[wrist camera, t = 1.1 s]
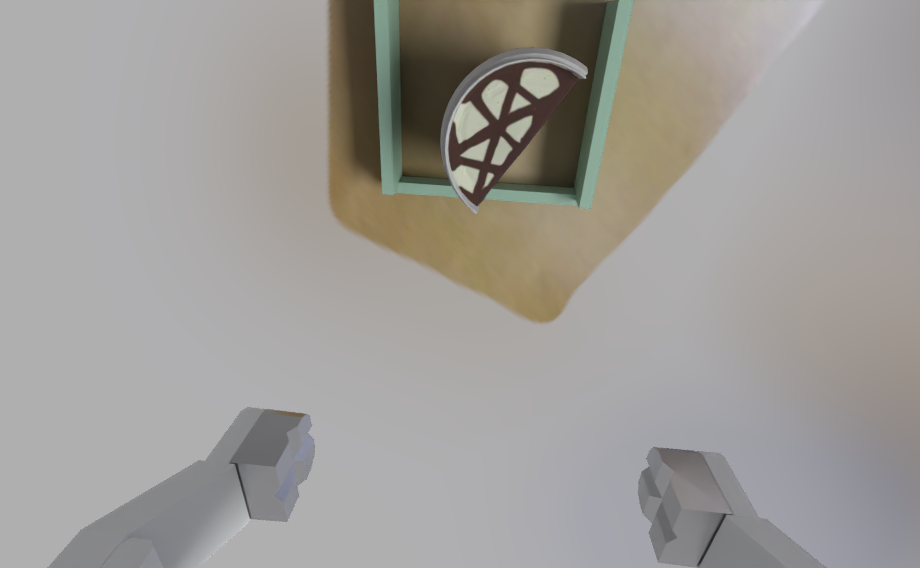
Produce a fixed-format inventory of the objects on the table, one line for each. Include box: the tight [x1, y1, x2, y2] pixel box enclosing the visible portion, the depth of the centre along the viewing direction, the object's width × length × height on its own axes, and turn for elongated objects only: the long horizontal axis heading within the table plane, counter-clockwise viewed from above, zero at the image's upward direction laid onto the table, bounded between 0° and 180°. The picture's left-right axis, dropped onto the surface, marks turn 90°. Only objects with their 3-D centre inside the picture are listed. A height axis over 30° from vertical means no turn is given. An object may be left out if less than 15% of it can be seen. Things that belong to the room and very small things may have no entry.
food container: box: [440, 47, 588, 214], centre depth 33 cm, size 12×6×10 cm, turn 144°
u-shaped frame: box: [374, 0, 634, 209], centre depth 36 cm, size 16×18×4 cm
